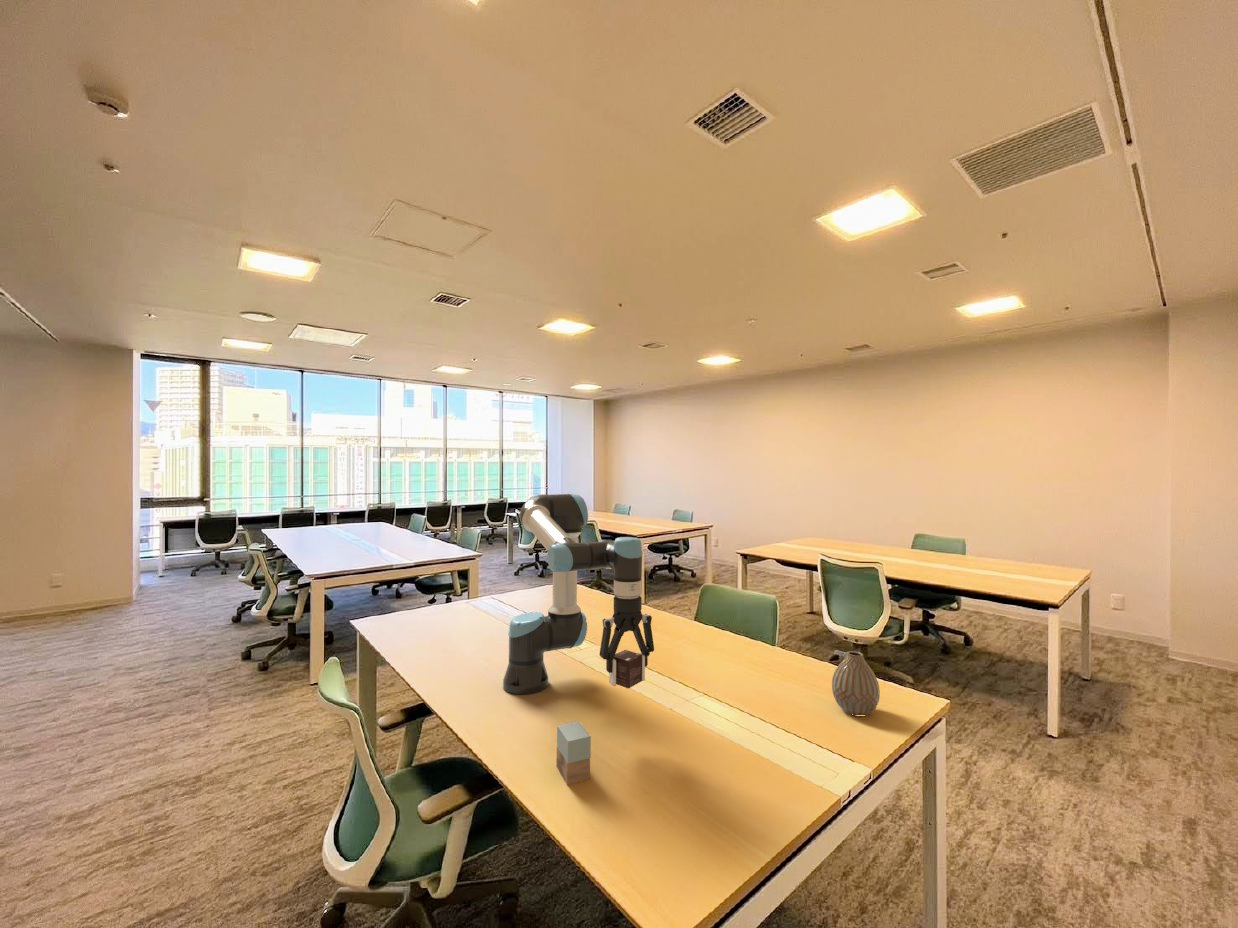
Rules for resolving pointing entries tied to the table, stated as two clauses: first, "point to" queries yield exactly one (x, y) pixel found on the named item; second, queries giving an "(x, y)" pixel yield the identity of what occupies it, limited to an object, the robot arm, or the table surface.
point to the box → (628, 668)
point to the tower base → (573, 769)
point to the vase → (855, 685)
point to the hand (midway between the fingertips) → (627, 681)
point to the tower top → (573, 742)
